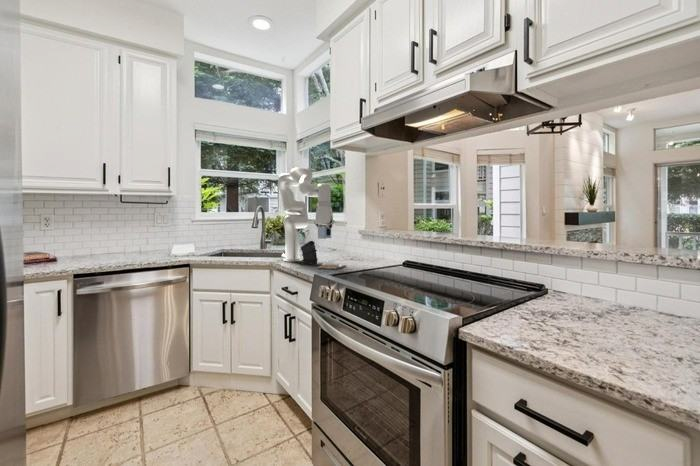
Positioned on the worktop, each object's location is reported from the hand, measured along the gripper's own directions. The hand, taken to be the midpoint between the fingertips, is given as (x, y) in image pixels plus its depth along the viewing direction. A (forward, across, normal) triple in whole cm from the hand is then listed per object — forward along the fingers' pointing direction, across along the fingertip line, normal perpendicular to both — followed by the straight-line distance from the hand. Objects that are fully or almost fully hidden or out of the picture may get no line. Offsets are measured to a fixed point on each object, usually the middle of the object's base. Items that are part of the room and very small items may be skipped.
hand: (324, 235), depth 198 cm
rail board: (+20, +3, +3) cm, 20 cm away
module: (+2, 0, 0) cm, 2 cm away
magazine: (+20, -18, +8) cm, 28 cm away
